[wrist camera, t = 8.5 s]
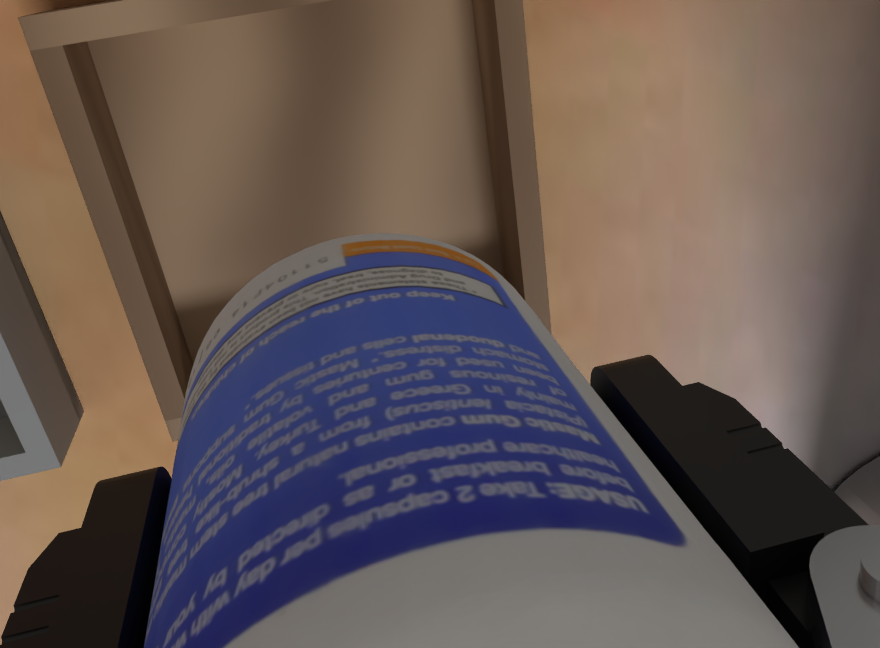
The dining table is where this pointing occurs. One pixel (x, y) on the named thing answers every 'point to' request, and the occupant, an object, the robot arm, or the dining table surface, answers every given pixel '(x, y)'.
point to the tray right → (287, 144)
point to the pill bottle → (420, 478)
